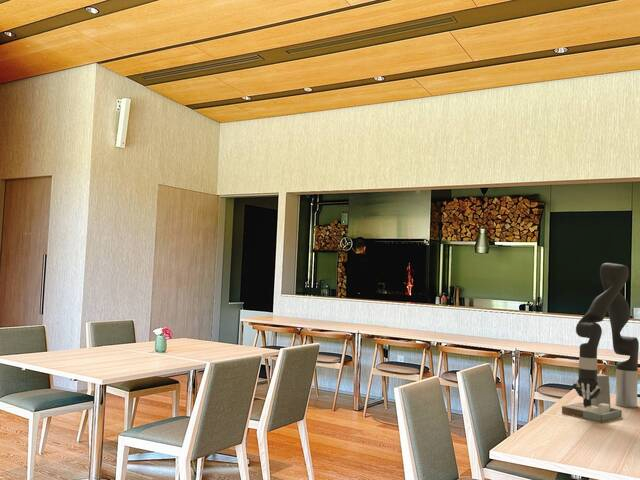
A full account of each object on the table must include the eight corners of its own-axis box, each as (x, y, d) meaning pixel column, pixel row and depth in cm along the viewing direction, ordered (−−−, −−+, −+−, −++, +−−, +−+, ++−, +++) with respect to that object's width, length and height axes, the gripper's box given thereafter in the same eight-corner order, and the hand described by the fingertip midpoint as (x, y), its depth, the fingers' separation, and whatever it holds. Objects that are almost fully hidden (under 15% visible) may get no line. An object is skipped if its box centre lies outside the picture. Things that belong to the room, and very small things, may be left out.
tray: (603, 413, 270) (603, 406, 270) (621, 417, 263) (621, 410, 264) (582, 418, 259) (583, 410, 259) (601, 422, 252) (601, 414, 252)
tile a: (603, 403, 268) (609, 404, 266) (602, 413, 268) (609, 414, 266) (598, 404, 265) (605, 405, 263) (598, 414, 265) (604, 415, 263)
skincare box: (610, 410, 276) (611, 376, 277) (595, 410, 276) (595, 375, 277) (602, 406, 285) (603, 373, 285) (587, 406, 285) (588, 372, 286)
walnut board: (580, 409, 277) (580, 402, 277) (601, 413, 270) (601, 406, 270) (561, 413, 267) (561, 406, 268) (583, 417, 260) (583, 410, 260)
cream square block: (592, 405, 261) (598, 407, 259) (591, 415, 261) (597, 417, 259) (586, 406, 259) (593, 408, 256) (585, 416, 259) (592, 418, 256)
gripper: (607, 369, 260) (606, 409, 259) (577, 364, 270) (577, 403, 269) (598, 370, 255) (597, 411, 254) (569, 365, 265) (568, 405, 264)
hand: (587, 407), depth 262 cm, fingers closed
